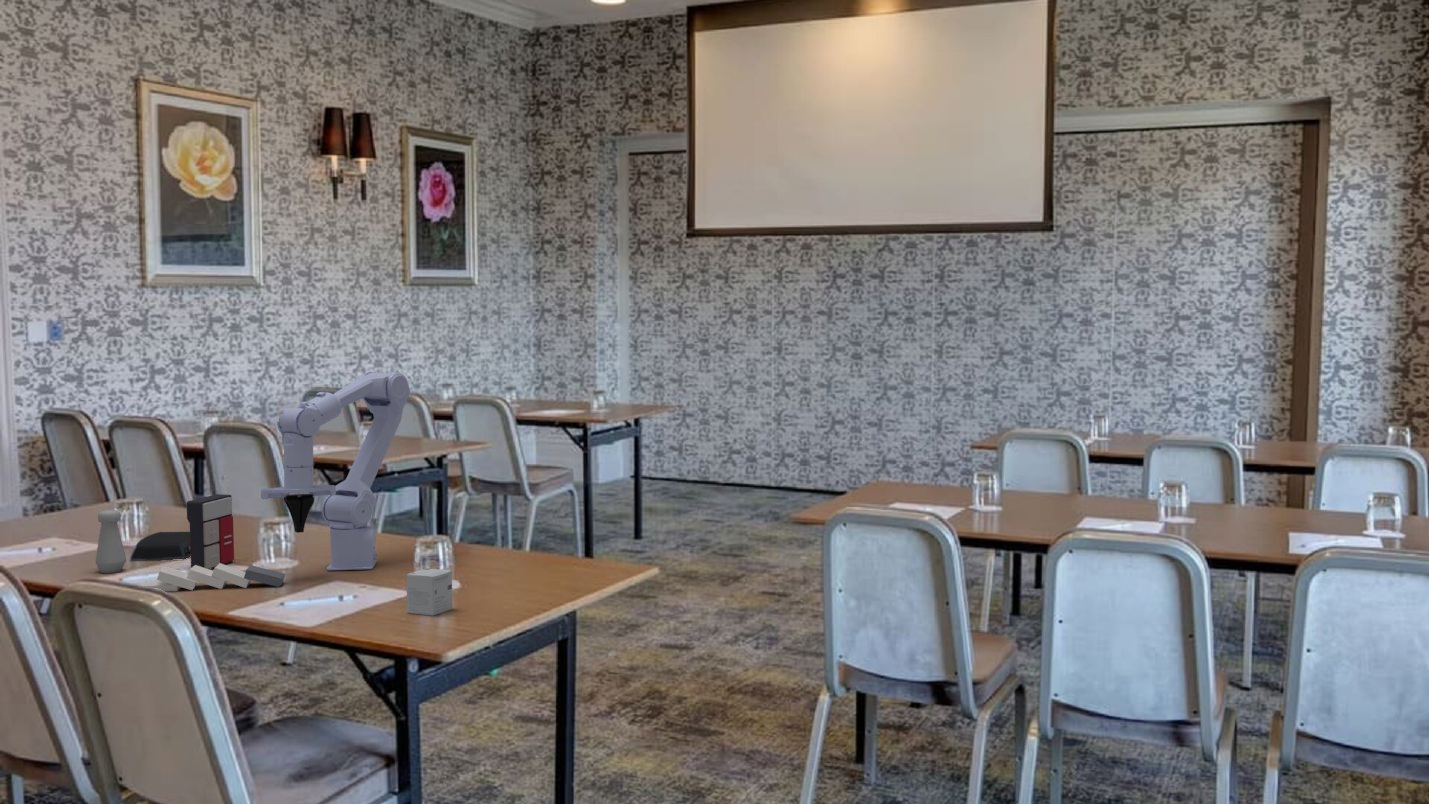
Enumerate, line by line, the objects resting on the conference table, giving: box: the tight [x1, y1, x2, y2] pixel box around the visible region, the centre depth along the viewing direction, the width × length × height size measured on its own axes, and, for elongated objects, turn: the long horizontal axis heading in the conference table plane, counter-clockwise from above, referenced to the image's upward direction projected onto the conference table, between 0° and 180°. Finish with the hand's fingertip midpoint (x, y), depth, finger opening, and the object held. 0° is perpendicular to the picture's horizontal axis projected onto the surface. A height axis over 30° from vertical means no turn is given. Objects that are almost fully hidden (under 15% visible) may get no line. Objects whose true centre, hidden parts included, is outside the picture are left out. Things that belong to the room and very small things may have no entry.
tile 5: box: [139, 580, 182, 592], centre depth 241 cm, size 2×4×7 cm
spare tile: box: [244, 564, 286, 588], centre depth 244 cm, size 2×4×7 cm
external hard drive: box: [129, 531, 191, 563], centre depth 277 cm, size 13×19×4 cm
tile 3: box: [187, 565, 228, 590], centre depth 243 cm, size 2×4×7 cm
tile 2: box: [211, 563, 253, 589], centre depth 243 cm, size 2×4×7 cm
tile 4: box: [156, 565, 198, 591], centre depth 241 cm, size 2×4×7 cm
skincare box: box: [406, 567, 453, 616], centre depth 224 cm, size 6×6×7 cm
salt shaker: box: [95, 509, 127, 574], centre depth 257 cm, size 6×6×13 cm
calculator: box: [186, 493, 235, 570], centre depth 262 cm, size 11×4×15 cm, turn 168°
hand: (299, 531), depth 250 cm, fingers closed
